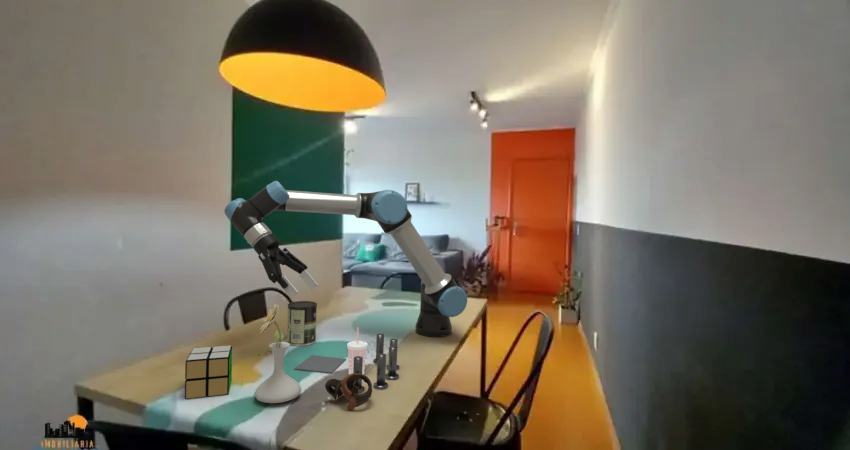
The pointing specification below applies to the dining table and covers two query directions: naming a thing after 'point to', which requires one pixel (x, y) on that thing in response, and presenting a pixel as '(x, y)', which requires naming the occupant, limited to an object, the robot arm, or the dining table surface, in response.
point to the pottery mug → (349, 389)
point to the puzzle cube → (208, 372)
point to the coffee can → (301, 323)
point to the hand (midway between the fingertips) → (305, 291)
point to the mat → (320, 364)
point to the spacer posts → (379, 364)
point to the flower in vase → (277, 369)
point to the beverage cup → (356, 352)
